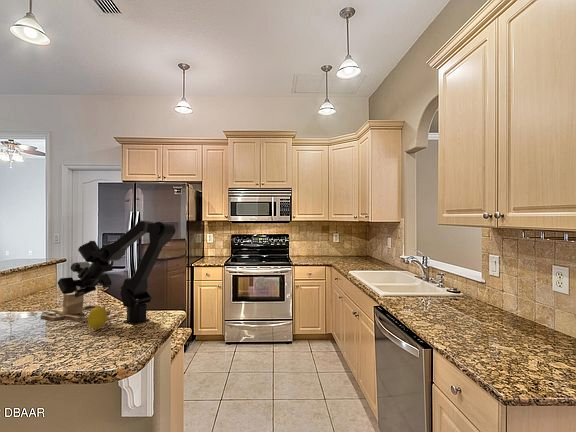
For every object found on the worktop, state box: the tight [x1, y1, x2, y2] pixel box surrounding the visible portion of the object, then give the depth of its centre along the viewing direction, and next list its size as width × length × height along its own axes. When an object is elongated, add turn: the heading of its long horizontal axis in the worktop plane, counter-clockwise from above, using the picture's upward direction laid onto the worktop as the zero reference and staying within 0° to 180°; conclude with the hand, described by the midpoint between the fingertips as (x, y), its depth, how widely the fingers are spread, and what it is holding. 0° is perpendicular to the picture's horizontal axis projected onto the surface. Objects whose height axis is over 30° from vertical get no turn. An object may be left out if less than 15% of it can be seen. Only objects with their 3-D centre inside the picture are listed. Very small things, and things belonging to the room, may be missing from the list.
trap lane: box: [40, 304, 111, 322], centre depth 122 cm, size 23×20×1 cm
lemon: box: [87, 305, 108, 331], centre depth 102 cm, size 6×6×8 cm
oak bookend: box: [50, 292, 85, 316], centre depth 125 cm, size 11×6×8 cm, turn 66°
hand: (76, 296), depth 123 cm, fingers closed, pressing on oak bookend
